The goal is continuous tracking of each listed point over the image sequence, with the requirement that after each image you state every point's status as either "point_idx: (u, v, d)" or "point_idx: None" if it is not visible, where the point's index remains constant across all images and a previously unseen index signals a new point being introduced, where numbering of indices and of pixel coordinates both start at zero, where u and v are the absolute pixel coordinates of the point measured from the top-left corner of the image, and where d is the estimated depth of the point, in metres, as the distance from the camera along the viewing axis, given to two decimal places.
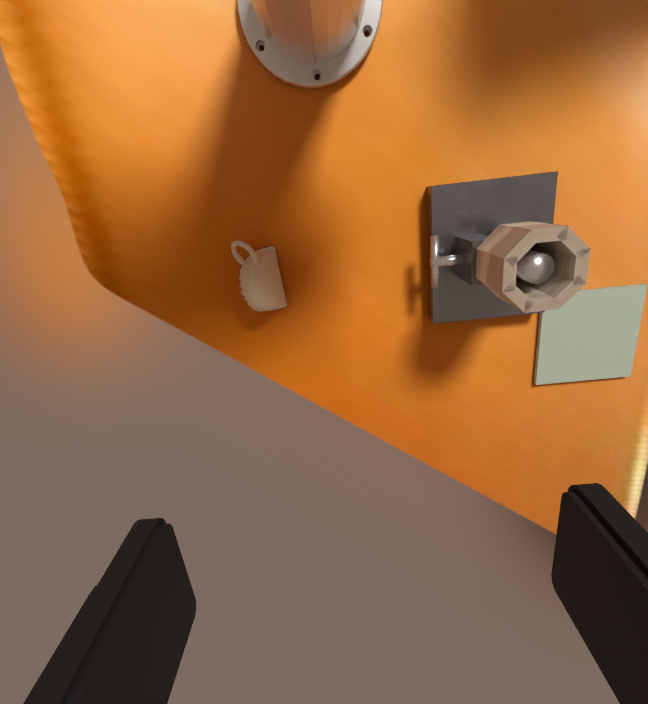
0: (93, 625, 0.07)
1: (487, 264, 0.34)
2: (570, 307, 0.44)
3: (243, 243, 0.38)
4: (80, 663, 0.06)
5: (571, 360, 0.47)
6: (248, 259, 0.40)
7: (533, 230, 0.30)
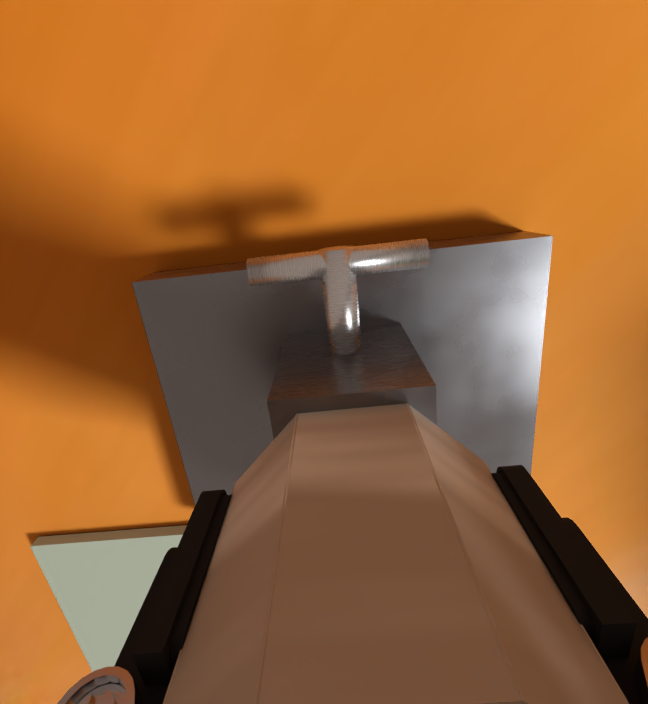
0: (183, 578, 0.08)
1: (379, 480, 0.07)
2: None
3: None
4: (178, 608, 0.07)
5: (107, 597, 0.21)
6: None
7: None
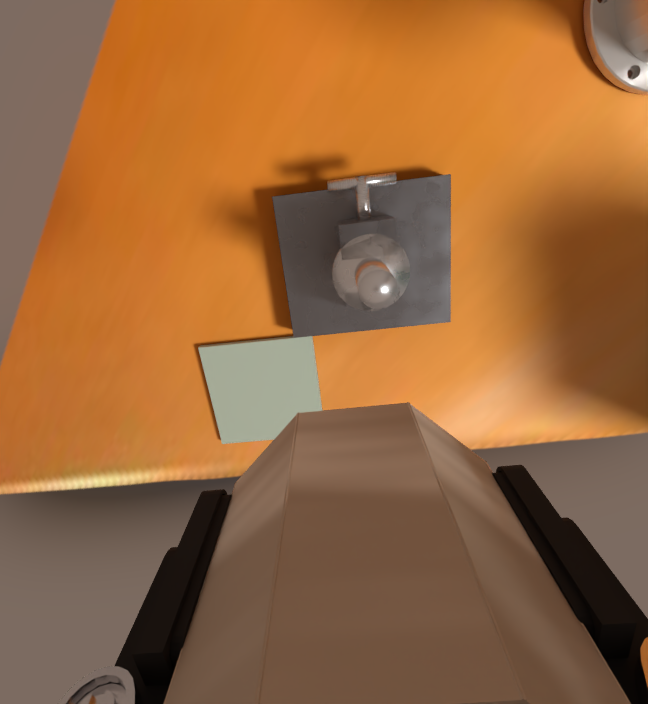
0: (183, 578, 0.08)
1: (380, 479, 0.07)
2: (298, 367, 0.39)
3: None
4: (178, 608, 0.07)
5: (234, 381, 0.39)
6: None
7: None
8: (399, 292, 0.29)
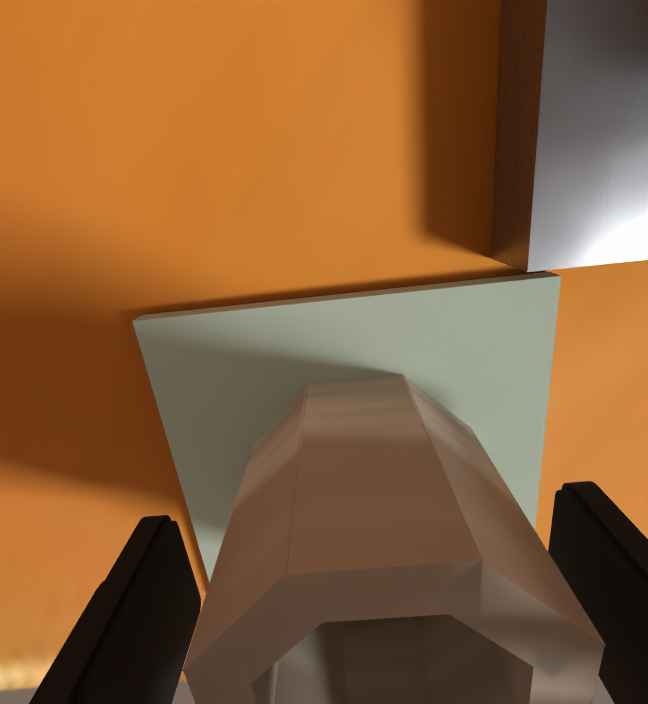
0: (101, 620, 0.07)
1: (377, 430, 0.09)
2: (487, 390, 0.11)
3: None
4: (89, 657, 0.06)
5: None
6: None
7: (598, 652, 0.06)
8: None
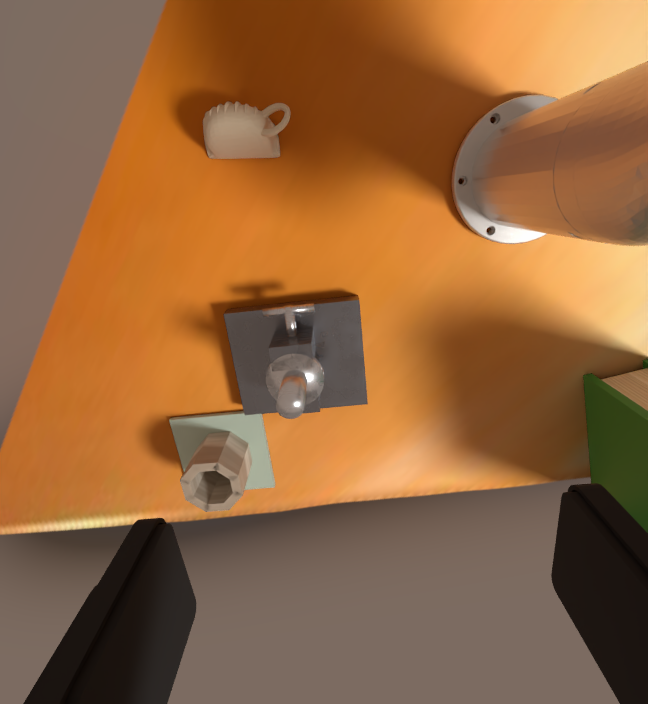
0: (93, 625, 0.07)
1: (216, 444, 0.45)
2: (250, 435, 0.48)
3: (286, 122, 0.32)
4: (80, 663, 0.06)
5: None
6: (267, 122, 0.34)
7: (237, 476, 0.43)
8: (317, 393, 0.39)
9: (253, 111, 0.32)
